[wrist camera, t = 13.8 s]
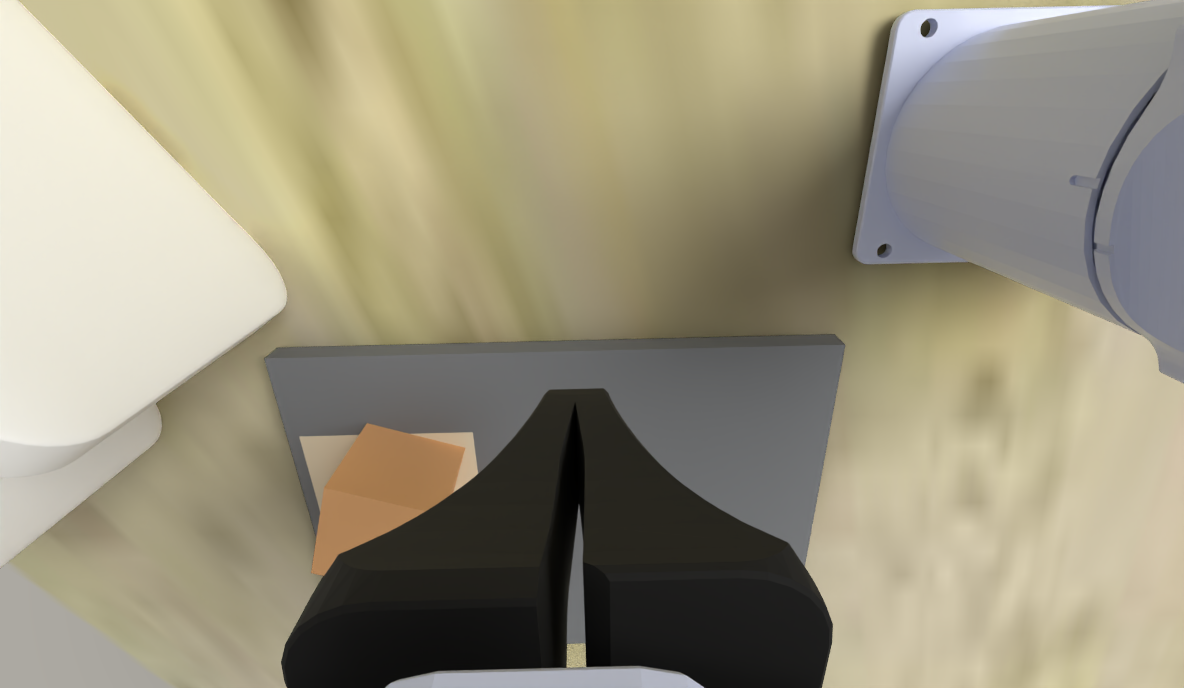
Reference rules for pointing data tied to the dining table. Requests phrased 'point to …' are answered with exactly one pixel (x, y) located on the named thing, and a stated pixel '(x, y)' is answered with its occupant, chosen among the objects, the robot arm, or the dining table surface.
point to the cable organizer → (99, 282)
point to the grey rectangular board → (622, 367)
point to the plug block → (382, 489)
